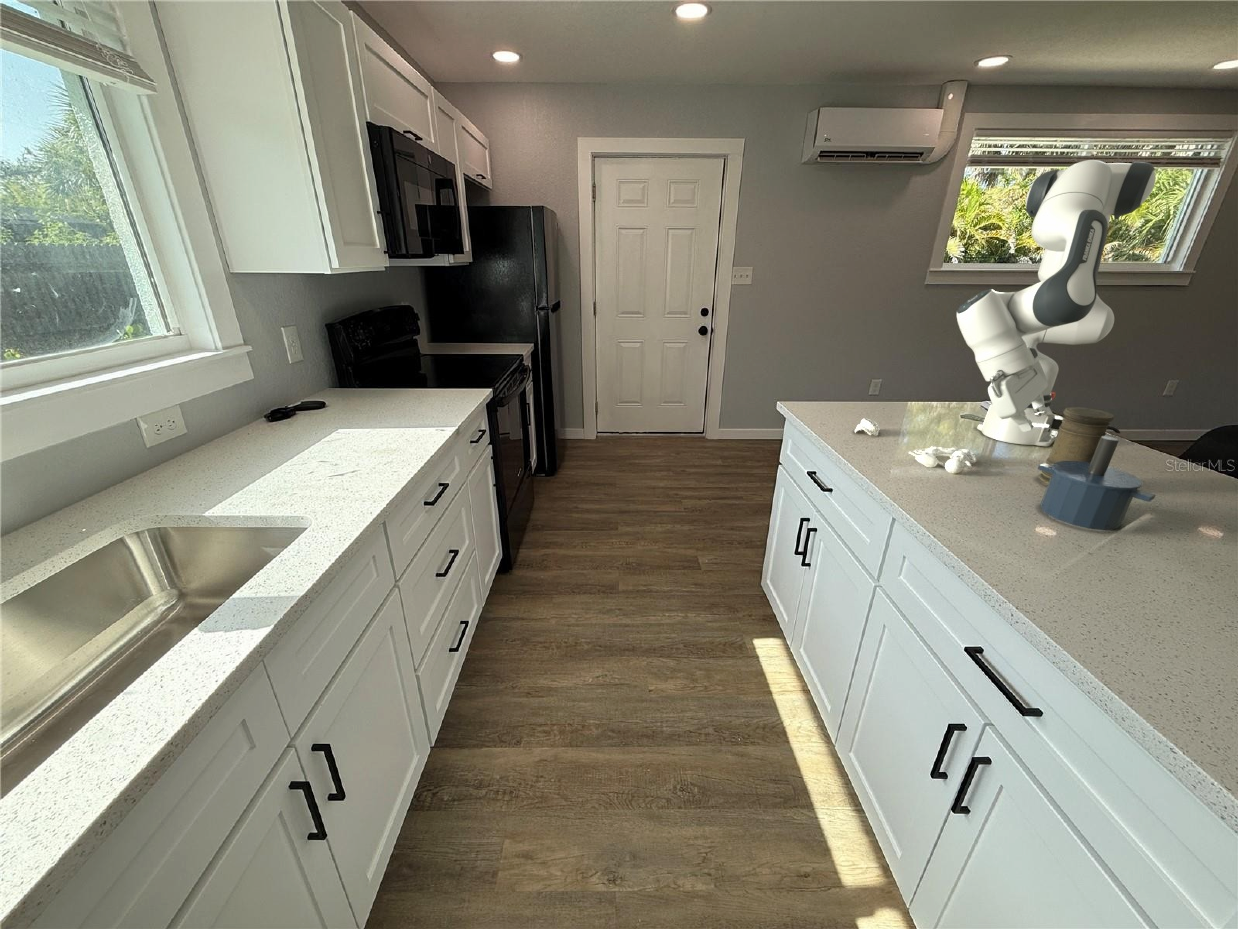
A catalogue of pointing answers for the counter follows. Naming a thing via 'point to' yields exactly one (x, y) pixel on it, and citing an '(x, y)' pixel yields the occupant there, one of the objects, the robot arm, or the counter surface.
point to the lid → (1099, 469)
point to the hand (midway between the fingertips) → (1035, 422)
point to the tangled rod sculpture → (951, 465)
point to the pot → (1087, 502)
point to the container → (1077, 437)
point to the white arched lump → (868, 427)
